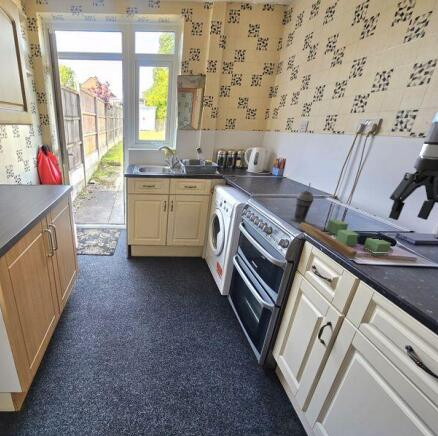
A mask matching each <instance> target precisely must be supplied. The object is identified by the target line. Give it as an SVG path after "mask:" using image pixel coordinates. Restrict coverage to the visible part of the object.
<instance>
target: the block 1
mask: <svg viewBox="0 0 438 436" xmlns="http://www.w3.org/2000/svg"><path fill="white" fill-rule="evenodd" d="M348 227H349V223H347V222H344V221H342V220H340V219H329V220H328V223H327V226H326V231H327V232H329V233H331V234H333V235H337V233H338V230H348Z"/></svg>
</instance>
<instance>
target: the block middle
mask: <svg viewBox="0 0 438 436" xmlns="http://www.w3.org/2000/svg"><path fill="white" fill-rule="evenodd" d="M358 235H360V234H359V233H357V232H355V231H353V230H351V229H347V230H338V233H337V234H336V236H335V239H336V240H338V241H340V242H341V243H343V244H345V245H347V246H349V247H356V246H357V244H358V241H357V237H358Z"/></svg>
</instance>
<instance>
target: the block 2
mask: <svg viewBox="0 0 438 436" xmlns="http://www.w3.org/2000/svg"><path fill="white" fill-rule="evenodd" d="M372 238H373V237H367V238H366V239H365V243H364V245H363V248H362V250H363V251H365V252H367V253H368V254H371V255H372V256H374V257H380V256H381V257H382V256H386V255H385V254H387V255H388V253H389V251H390V249H391V246H392V243H391V242H389V241H387V240H384V239H382V240H379V239H372ZM366 248H367V249H366ZM368 249H369V250H368ZM370 250H371V251H370ZM372 251H373V252H388V253H373V252H372Z"/></svg>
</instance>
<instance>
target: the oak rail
mask: <svg viewBox="0 0 438 436" xmlns="http://www.w3.org/2000/svg"><path fill="white" fill-rule="evenodd" d="M299 229H300V230H301V231H303V232H305V233H307V234H309V235H310V236H311V237H313V238H314V239H317V240H318V241H320V242H321V243H323V244H324V245H326V246H328V247H329V248H331V249H333V250H335V252H338V253H340V254H341V255H343V256H344V257H346V258H348V259H351V260H352V259H355V258H356V256H357V253H358V251H357V250H356V249H354V248H352V247H351V246H347V245H345V244H343V243H341V242H340V241H338V240H336V238H334V237H332V236H331V235H329V234H327V233H325V232H323V231H321V230H320V229H318V228H316V227H314V226H312V225H311V224H310V223H307V222H305V221H304V222H301V223H300V225H299Z"/></svg>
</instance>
